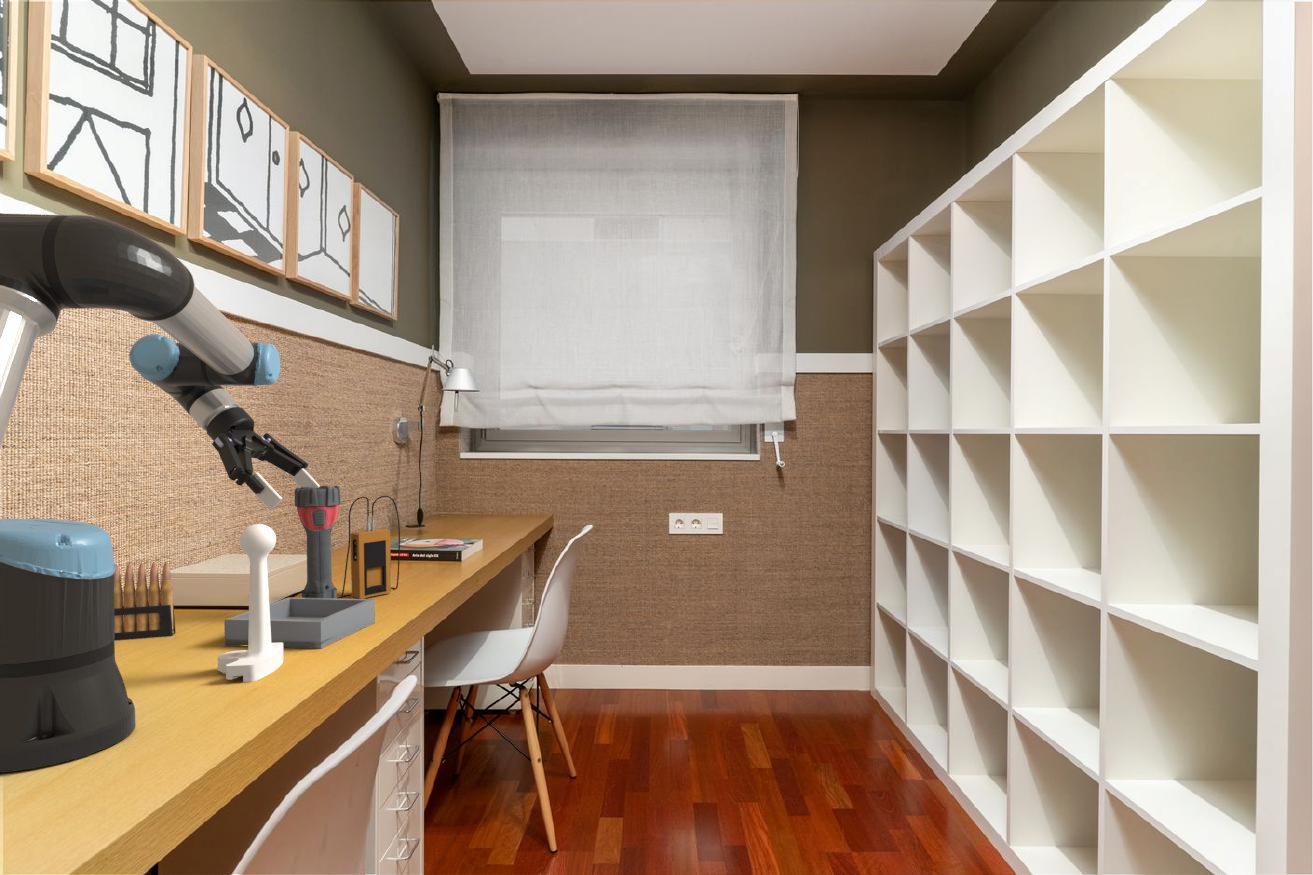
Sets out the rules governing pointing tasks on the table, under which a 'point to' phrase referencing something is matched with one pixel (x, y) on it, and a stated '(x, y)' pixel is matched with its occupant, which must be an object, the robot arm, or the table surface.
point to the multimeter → (370, 559)
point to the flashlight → (318, 536)
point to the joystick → (255, 614)
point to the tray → (307, 621)
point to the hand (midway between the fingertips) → (299, 500)
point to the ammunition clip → (143, 604)
